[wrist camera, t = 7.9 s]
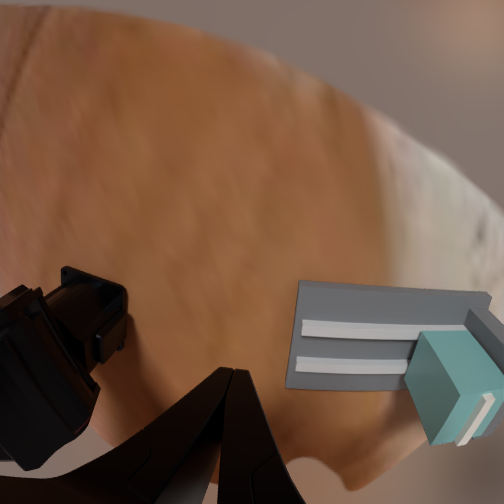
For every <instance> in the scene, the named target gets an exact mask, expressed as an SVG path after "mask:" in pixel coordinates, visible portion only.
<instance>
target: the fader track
mask: <svg viewBox="0 0 504 504" xmlns="http://www.w3.org/2000/svg"><path fill="white" fill-rule="evenodd" d="M491 299H492V297H491V296H490V295H489V294H488V293H487V292H475V291H454V290H435V289H418V288H401V287H386V286H371V285H357V284H343V283H330V282H317V281H305V280H299V284H298V292H297V300H296V308H295V316H294V324H293V331H292V338H291V346H290V353H289V359H288V366H287V373H286V379H285V388H294V389H311V390H337V391H384V390H409V389H408V387H407V384H406V382H405V380H404V378H405V375H406V373H407V370H408V367H409V365H410V362H411V360H412V357H413V354H414V351H415V349H416V346H417V343H418V340H419V337H420V334H421V331H466V330H468V331H469V332H470V333H471V334H472V336H473V337H474V338H475V339H476V340H477V342H478V343H479V344H480V345H481V347H482V348H483V349H484V350H485V352H486V353H487V354H488V355H489V357H490V358H491V359H492V360H493V362H494V363H495V364H496V366H497V367H498V368H499V370H500V371H501V372H502V374H503V375H504V325H503V324H502V323H501V322H500V321H499V320H498V319H497V318H496V317H495V316H494V315H493V314H492V313H491V312H490V311H489V310H488V308H489V305H490V302H491ZM503 417H504V401H503V403H502V405H501V406H500V408H499V409H498V411H497V413H496V414H495V416H494V417H493V419H492V420H491V422H490V423H489V425H488V426H487V428H486V429H485V431H484V432H483V433H482V435H480V436H476V437H472V439H473V440H474V439H478V438H482V437H485V436H489V435H491V434H492V433H493V432H494V430H495V429H496V427H497V426H498V424H499V423H500V421H501V420H502V418H503Z"/></svg>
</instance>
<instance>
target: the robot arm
mask: <svg viewBox="0 0 504 504" xmlns="http://www.w3.org/2000/svg"><path fill="white" fill-rule="evenodd" d="M66 272H67V273H66ZM117 289H118V290H119V291H120V293H119V292H118V290H117ZM125 338H126V312H125V288H124V287H123V286H122V285H120V284H117V283H114V282H111V281H108V280H105V279H102V278H100V277H97V276H94V275H91V274H88V273H85V272H83V271H80V270H77V269H74V268H72V267H69V266H64V267H63V268H62V269H61V285H60V286H59V287H58V288H56V289H55V290H53V291H52V292H50V293H49V294H47V295H46V296H43V292H42V290H41V288H40V287H38V288H36V289H34V290H32V288H31V289H28V288H27V287H26V286H24V285H23V284H22V285H20V286H18V287H17V288H15V289H14V290H12V291H10V292H9V293H7V294H6V295H4V296H2V297H1V298H0V462H2V461H3V462H5V461H6V462H8V461H15V462H16V463H17V464H18V465H19V466H20V467H21V468H22V469H23V470H24V471H30V470H34V469H38V468H40V467H41V466H42V465H43V464H44V463H45V462H46V461H47V460H48V459H49V458H50V457H51V455H53V454H54V453H55V452H56V451H57V450H58V449H60V448H61V447H62V446H64V445H65V444H67V443H69V442H71V441H73V440H74V439H76V438H77V437H78V436H79V435H81V434H82V432H83V431H84V430H85V429H86V428H87V426H88V424H89V422H90V419H91V416H92V413H93V410H94V407H95V404H96V401H97V398H98V395H99V392H100V389H101V388H100V386H99V385H98V384H97V382H95V381H94V380H93V378H92V377H91V376H90V373H91V371H92V370H93V369H94V368H95V367H96V365H97V364H98V363H99V364H104V363H105V362H106V361H107V360H108V359H109V358H110V356H111V355H112V354H113V353H114V351H115V350H116V351H121V350H122V349H123V348H124V339H125ZM220 451H221V456H220V469H219V483H218V498H217V504H306V503H305V501H304V500H303V498H302V496H301V495H300V493H299V491H298V490H297V488H296V486H295V485H294V483H293V481H292V479H291V477H290V475H289V473H288V471H287V468H286V466H285V464H284V462H283V459H282V457H281V454H280V453H279V449H278V447H277V444H276V442H275V439H274V437H273V434H272V431H271V429H270V426H269V423H268V421H267V418H266V416H265V413H264V410H263V408H262V405H261V402H260V399H259V397H258V394H257V391H256V389H255V386H254V383H253V380H252V378H251V375H250V372H249V371H248V370H243V369H235V370H234V369H233V368H227V367H219V368H218V369H216V370H215V371H214V372H213V373H212V374H210V375H209V376H208V377H207V378H206V379H204V380H203V381H202V382H201V383H200V384H198V385H197V386H196V387H195V388H194V389H192V390H191V391H190V392H189V393H187V394H186V395H185V396H184V397H183V398H181V399H180V400H179V401H178V402H176V403H175V404H174V405H173V406H171V407H170V408H169V409H168V410H166V411H165V412H164V413H162V414H161V415H160V416H159V417H157V418H156V419H155V420H153V421H152V422H151V423H150V424H148V425H147V426H146V427H144V430H143V429H142V430H140V431H139V432H138V433H136V434H135V435H134V436H132V437H131V438H129V439H128V440H126V441H125V442H124V443H122V444H121V445H119V446H117V447H116V448H114V449H113V450H111V451H109V452H107V453H106V454H104V455H102V456H100V457H98V458H96V459H94V460H93V461H91V462H89V463H87V464H85V465H83V466H81V467H79V468H77V469H75V470H73V471H71V472H69V473H66V474H64V475H61V476H58V477H53V478H46V479H37V478H21V477H10V476H0V504H202V501H203V499H204V496H205V493H206V490H207V488H208V485H209V482H210V479H211V477H212V474H213V471H214V468H215V465H216V463H217V460H218V457H219V454H220Z"/></svg>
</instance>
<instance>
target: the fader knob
mask: <svg viewBox="0 0 504 504" xmlns="http://www.w3.org/2000/svg"><path fill="white" fill-rule="evenodd" d="M404 380H405V382H406V384H407V387H408V389H409V392H410V394H411V397H412V399H413V402H414V404H415V407H416V409H417V412H418V414H419V417H420V419H421V422H422V425H423V427H424V430H425V433H426V436H427V438H428V441H429V444H430V446H431V445H437V444H443V443H448V442H453V441H455V443H456V446H460V445H465V444H466V443H467V442H468V441H469V439H470V438H472V437H476V436H480V435H482V433H483V432H484V431H485V429H486V428H487V426H488V425H489V423H490V422H491V420H492V419H493V417H494V416H495V414H496V413H497V411H498V409H499V408H500V406H501V405H502V403H503V401H504V375H503V374H502V372H501V371H500V370H499V368H498V367H497V366H496V364H495V363H494V362H493V360H492V359H491V358H490V357H489V355H488V354H487V353H486V352H485V350H484V349H483V348H482V347H481V345H480V344H479V343H478V342H477V340H476V339H475V338H474V337H473V336H472V334H471V333H470V332H469V331H468V330H466V331H421V334H420V337H419V340H418V343H417V346H416V349H415V351H414V354H413V357H412V360H411V362H410V365H409V367H408V370H407V373H406V375H405V378H404Z"/></svg>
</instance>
